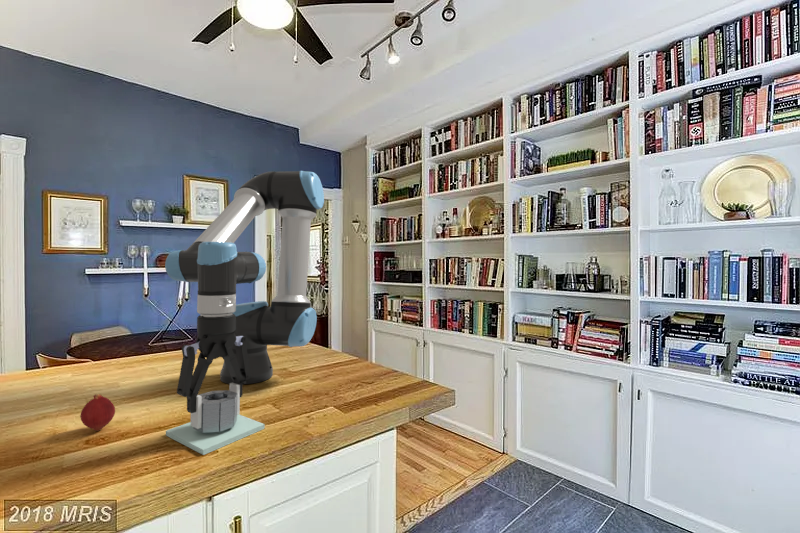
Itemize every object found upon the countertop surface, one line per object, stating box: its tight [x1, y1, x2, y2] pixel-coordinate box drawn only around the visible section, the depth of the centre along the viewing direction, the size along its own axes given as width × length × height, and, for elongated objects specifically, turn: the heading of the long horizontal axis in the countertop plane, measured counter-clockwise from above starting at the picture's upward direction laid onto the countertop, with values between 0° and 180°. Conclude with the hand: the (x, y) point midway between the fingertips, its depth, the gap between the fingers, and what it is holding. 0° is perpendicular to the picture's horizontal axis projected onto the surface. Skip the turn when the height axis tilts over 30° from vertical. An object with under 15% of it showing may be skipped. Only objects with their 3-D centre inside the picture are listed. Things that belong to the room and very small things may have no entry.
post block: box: [165, 414, 266, 456], centre depth 85 cm, size 14×14×6 cm
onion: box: [79, 393, 116, 432], centre depth 85 cm, size 6×6×8 cm
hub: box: [193, 389, 238, 433], centre depth 85 cm, size 8×8×6 cm
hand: (215, 419), depth 85 cm, fingers closed on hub, 8 cm apart
